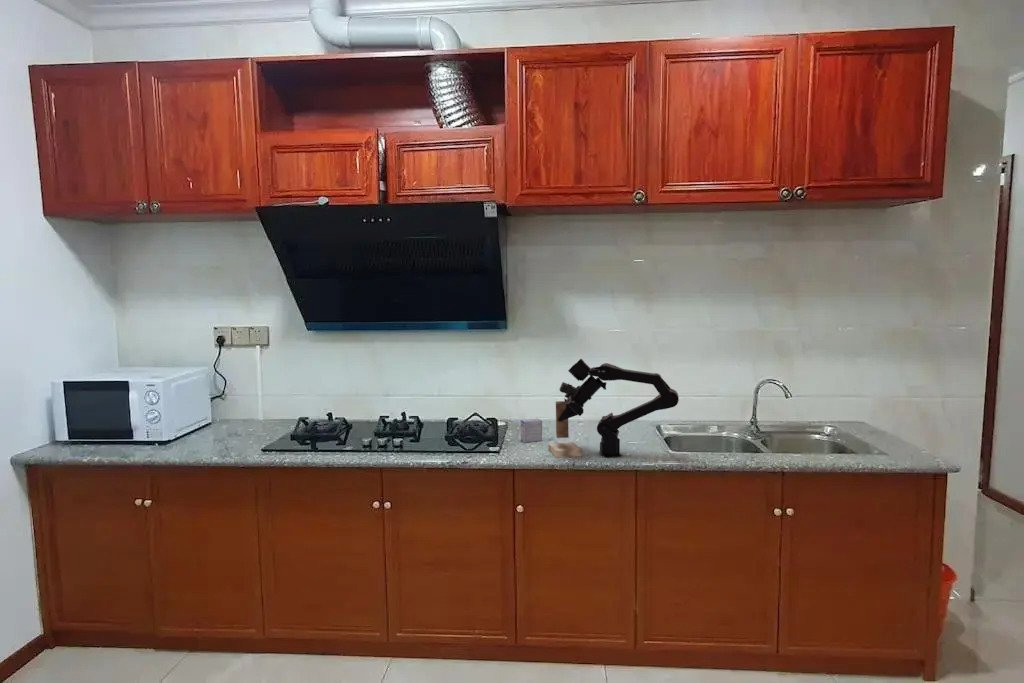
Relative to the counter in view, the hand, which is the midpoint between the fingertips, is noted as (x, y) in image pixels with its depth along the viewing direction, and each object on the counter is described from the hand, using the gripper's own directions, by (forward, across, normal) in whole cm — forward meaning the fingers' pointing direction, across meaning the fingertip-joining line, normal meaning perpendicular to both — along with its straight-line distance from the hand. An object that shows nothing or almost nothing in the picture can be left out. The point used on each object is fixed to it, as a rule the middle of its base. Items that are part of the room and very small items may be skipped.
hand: (558, 419), depth 227 cm
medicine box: (+17, -18, +2) cm, 25 cm away
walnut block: (+4, 0, +6) cm, 7 cm away
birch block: (+8, 0, +11) cm, 14 cm away
